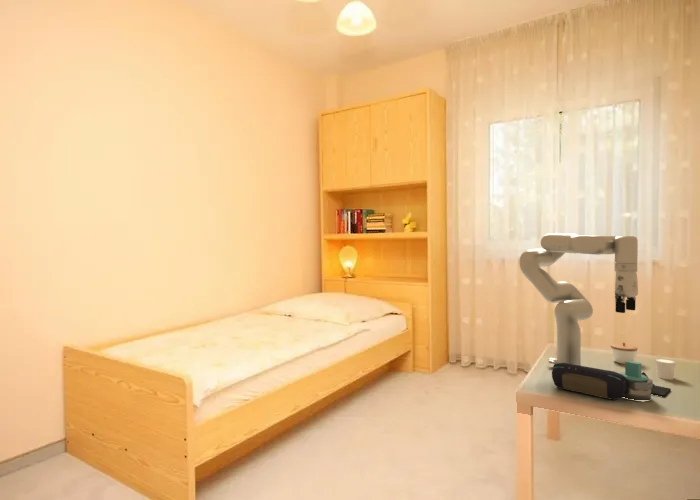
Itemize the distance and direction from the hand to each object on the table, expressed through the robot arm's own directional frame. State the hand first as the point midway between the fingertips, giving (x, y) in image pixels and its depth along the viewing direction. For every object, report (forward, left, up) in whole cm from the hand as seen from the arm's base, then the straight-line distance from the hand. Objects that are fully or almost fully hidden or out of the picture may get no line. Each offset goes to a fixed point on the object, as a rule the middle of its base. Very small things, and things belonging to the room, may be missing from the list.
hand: (625, 311), depth 169 cm
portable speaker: (-6, -18, -30) cm, 36 cm away
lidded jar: (-15, +39, -31) cm, 52 cm away
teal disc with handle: (+6, -8, -26) cm, 28 cm away
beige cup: (+5, +28, -31) cm, 42 cm away
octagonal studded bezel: (+6, -8, -30) cm, 32 cm away
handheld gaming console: (+8, +5, -31) cm, 32 cm away
